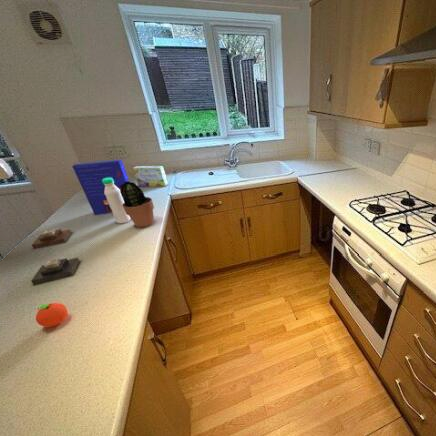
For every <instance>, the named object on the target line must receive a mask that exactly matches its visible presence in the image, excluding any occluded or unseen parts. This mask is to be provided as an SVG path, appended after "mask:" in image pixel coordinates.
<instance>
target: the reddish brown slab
mask: <svg viewBox="0 0 436 436" xmlns="http://www.w3.org/2000/svg"><path fill="white" fill-rule="evenodd" d="M55 230H56V233H55V234H54V235H50V236H43V233H42V234H40V235H39V236H38V237H37V238H36V239H35V240H34V241H33V242H32V243H31V247H32V248H33V250H36V249H41V248H45V247H50V246H56V245H59V244H65V243H67V242H68V239H70V237H71V236H72V234H73V232H72V230H71V229H65V230H62V229H61V228H59V229H55Z"/></svg>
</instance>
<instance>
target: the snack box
mask: <svg viewBox="0 0 436 436" xmlns="http://www.w3.org/2000/svg"><path fill="white" fill-rule="evenodd" d="M132 171H133V174H134V177H135V180H136V182H137V186H138V187H166V186H168V185H169V182H168V178H167V175H166V171H165V168H164V166H163V165H135V166H134V167H132Z"/></svg>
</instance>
